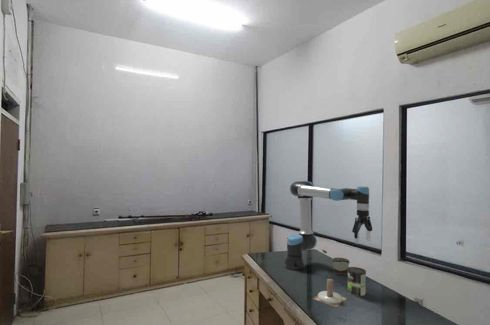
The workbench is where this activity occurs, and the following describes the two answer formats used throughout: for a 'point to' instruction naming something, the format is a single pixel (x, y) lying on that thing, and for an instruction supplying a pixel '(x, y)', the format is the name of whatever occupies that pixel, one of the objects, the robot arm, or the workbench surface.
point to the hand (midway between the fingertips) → (362, 241)
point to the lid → (330, 294)
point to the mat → (328, 303)
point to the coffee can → (356, 281)
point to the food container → (340, 265)
